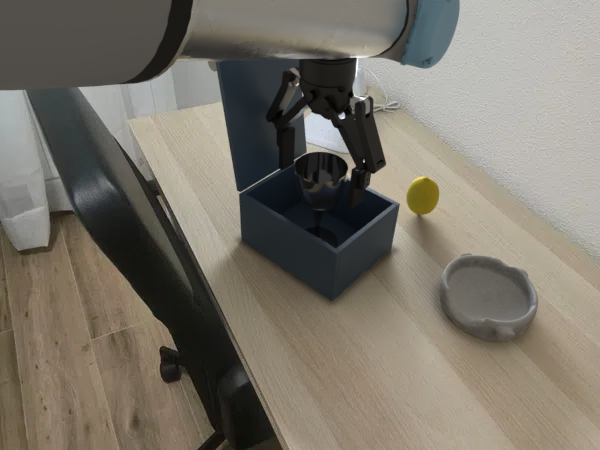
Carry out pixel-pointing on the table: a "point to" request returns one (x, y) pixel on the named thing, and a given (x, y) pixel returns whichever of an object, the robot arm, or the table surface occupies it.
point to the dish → (488, 297)
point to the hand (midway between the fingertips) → (319, 184)
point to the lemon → (422, 195)
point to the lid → (255, 115)
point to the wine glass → (320, 188)
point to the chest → (308, 248)
